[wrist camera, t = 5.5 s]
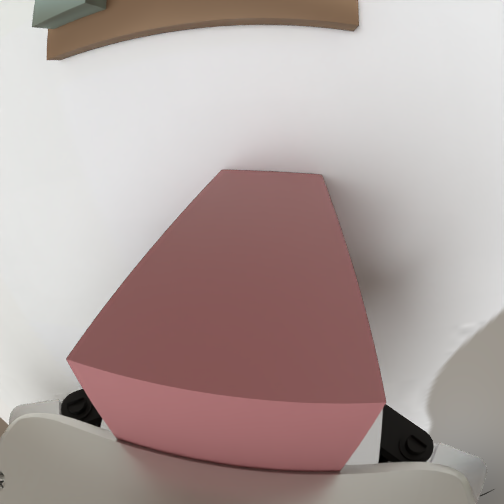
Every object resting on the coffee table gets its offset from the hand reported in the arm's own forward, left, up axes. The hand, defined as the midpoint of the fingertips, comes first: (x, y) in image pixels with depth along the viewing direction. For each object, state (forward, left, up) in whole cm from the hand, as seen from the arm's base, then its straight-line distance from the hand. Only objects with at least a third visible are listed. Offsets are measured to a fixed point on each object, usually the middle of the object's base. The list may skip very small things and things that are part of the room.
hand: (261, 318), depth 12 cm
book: (0, 0, -3) cm, 3 cm away
